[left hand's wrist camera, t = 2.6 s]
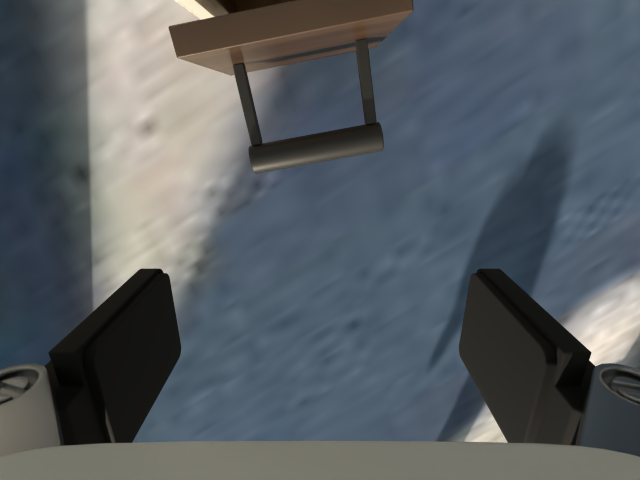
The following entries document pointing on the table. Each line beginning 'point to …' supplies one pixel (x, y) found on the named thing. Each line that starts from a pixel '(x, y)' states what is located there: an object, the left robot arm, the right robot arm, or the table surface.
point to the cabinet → (196, 8)
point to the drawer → (292, 61)
